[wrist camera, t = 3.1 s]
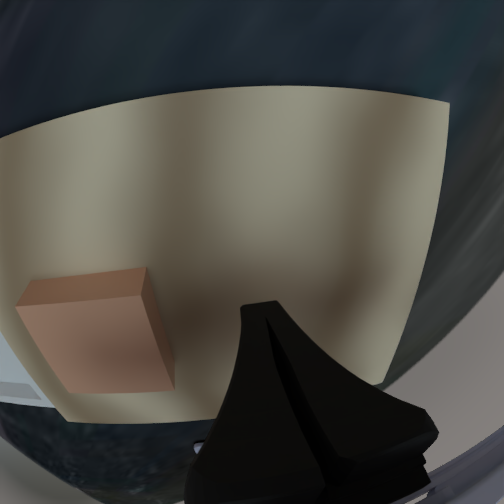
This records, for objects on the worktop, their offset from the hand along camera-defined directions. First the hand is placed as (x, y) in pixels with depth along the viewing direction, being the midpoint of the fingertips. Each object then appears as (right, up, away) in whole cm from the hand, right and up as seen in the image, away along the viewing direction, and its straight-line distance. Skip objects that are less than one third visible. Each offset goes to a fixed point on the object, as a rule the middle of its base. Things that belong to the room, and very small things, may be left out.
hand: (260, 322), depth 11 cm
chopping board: (-3, +1, +2) cm, 4 cm away
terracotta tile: (-6, 0, 0) cm, 6 cm away
